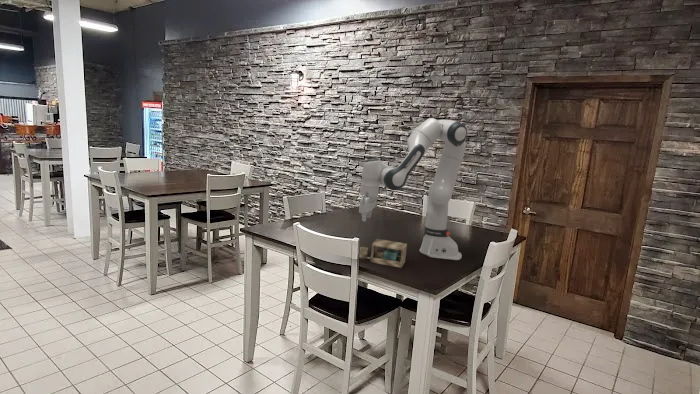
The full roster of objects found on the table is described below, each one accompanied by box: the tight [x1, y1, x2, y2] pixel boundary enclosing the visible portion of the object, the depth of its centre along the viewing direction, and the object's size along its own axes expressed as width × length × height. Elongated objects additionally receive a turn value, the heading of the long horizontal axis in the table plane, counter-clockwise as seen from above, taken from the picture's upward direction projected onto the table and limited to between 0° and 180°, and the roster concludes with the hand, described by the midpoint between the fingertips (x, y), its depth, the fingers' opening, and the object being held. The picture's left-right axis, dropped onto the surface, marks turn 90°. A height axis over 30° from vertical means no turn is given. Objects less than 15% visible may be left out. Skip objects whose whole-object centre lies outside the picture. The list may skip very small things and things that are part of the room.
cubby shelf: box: [370, 238, 408, 269], centre depth 194 cm, size 16×10×9 cm, turn 73°
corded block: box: [358, 246, 400, 262], centre depth 196 cm, size 19×6×6 cm, turn 73°
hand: (366, 219), depth 195 cm, fingers open, 8 cm apart
